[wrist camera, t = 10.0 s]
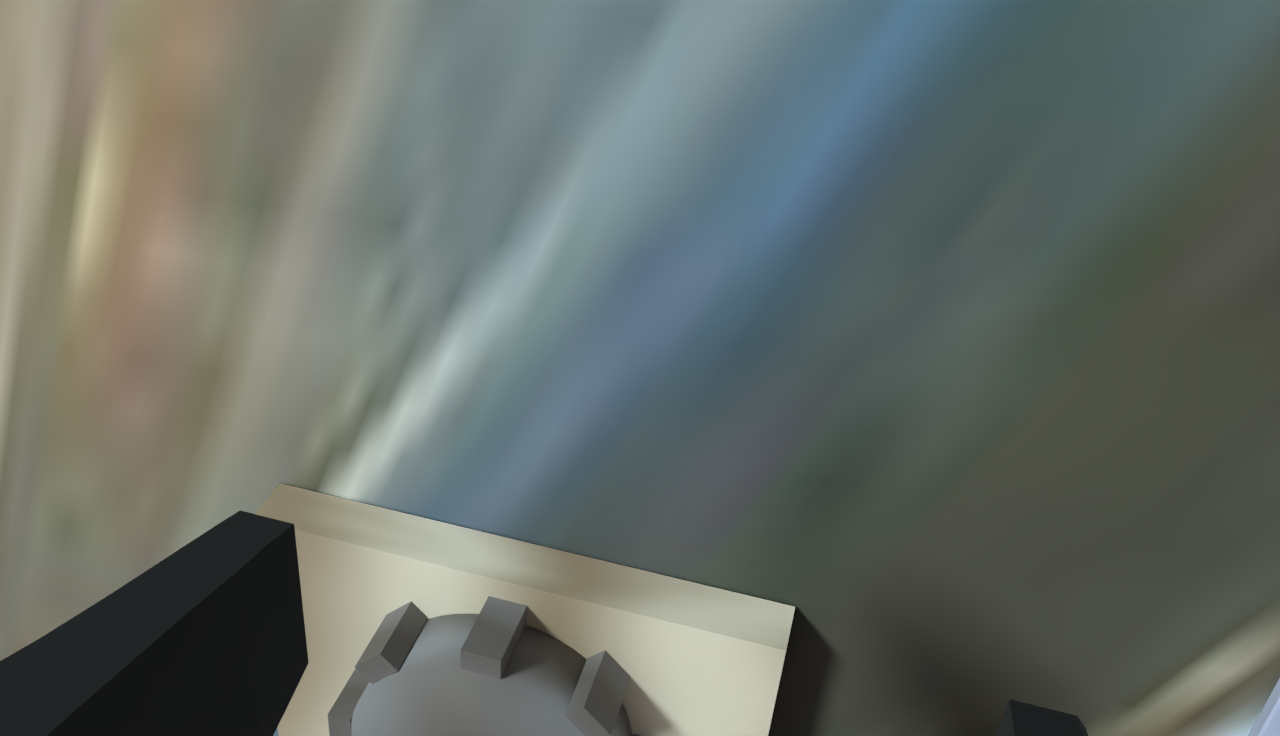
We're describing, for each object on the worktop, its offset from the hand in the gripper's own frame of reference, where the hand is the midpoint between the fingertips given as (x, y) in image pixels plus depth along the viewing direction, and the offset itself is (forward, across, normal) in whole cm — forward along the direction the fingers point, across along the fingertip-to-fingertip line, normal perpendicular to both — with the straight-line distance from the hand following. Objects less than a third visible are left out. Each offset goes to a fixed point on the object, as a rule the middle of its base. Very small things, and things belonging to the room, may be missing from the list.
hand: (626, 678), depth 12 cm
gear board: (+9, +4, +18) cm, 21 cm away
